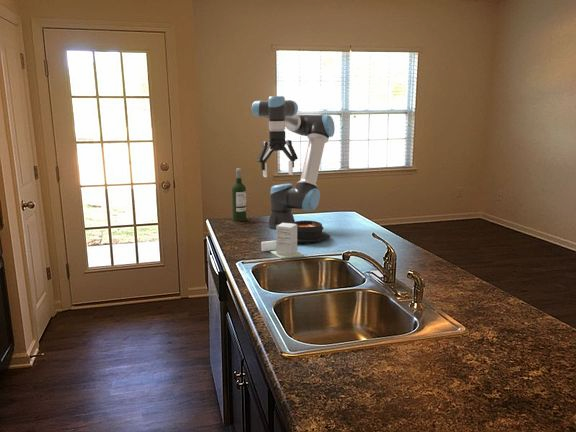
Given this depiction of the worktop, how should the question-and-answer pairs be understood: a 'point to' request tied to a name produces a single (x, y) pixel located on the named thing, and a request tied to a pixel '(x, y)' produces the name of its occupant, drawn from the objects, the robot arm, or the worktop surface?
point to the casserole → (310, 231)
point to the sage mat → (287, 255)
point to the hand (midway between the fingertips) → (278, 175)
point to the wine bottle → (239, 198)
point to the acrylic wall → (268, 245)
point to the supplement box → (286, 239)
